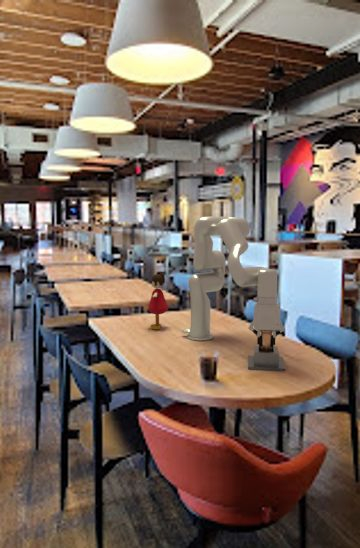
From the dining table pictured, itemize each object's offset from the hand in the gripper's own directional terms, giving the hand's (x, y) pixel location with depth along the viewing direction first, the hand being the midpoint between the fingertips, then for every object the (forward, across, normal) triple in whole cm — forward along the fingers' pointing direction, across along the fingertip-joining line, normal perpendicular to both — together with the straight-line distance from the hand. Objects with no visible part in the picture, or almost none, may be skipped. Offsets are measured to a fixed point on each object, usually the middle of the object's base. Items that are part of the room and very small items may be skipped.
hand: (266, 346), depth 166 cm
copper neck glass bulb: (+3, 0, 0) cm, 3 cm away
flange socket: (+7, 0, 0) cm, 7 cm away
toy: (+8, -54, +49) cm, 73 cm away
